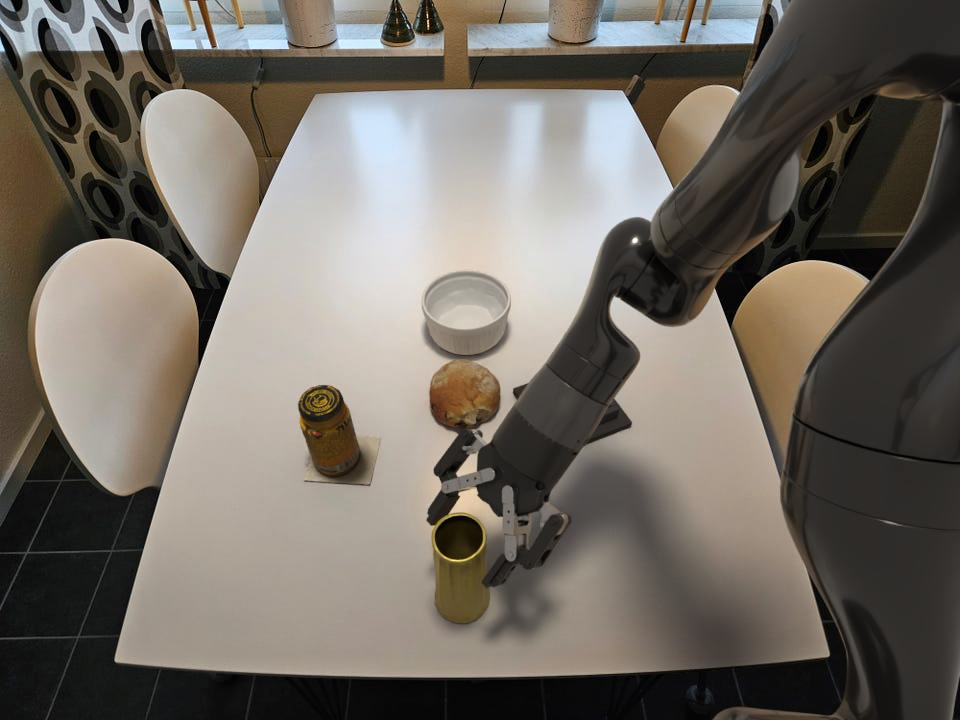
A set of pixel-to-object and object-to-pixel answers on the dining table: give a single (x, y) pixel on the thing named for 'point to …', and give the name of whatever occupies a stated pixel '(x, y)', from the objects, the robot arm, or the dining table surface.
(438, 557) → the vase
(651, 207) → the dining table surface
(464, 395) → the bread roll
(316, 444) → the condiment
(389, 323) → the dining table surface
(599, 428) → the base pad
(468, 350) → the ramekin
